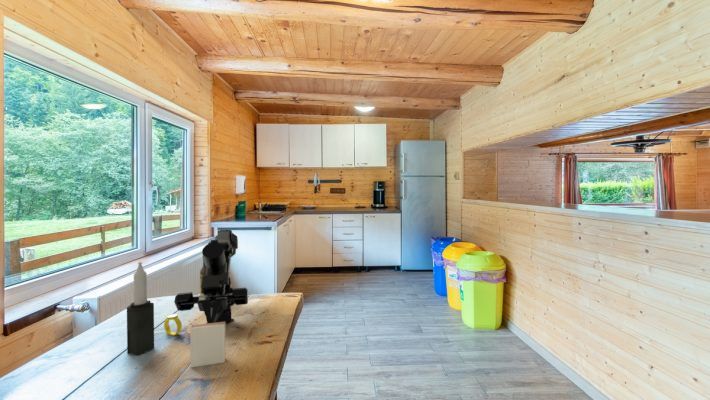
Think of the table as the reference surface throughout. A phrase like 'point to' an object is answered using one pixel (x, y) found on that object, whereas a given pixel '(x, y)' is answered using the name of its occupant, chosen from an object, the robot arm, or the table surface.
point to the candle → (140, 317)
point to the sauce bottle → (202, 273)
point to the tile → (207, 344)
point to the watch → (178, 322)
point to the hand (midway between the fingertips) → (210, 328)
